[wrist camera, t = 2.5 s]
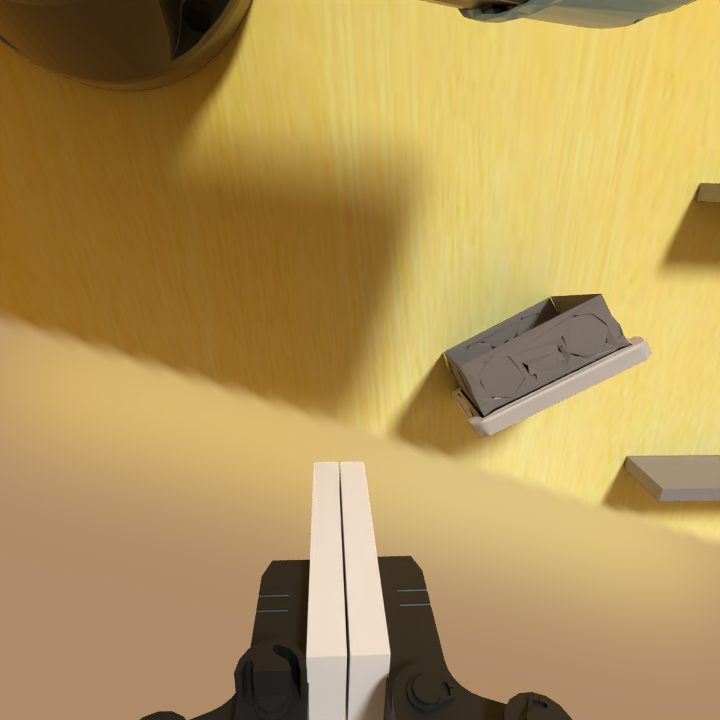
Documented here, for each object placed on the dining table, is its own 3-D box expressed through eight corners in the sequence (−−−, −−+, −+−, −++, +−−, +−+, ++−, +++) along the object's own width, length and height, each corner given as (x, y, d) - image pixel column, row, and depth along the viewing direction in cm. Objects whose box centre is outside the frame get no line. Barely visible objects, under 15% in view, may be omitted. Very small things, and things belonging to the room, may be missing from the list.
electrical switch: (454, 402, 33) (493, 468, 24) (421, 337, 32) (450, 383, 23) (580, 338, 32) (671, 383, 23) (551, 269, 31) (636, 288, 22)
